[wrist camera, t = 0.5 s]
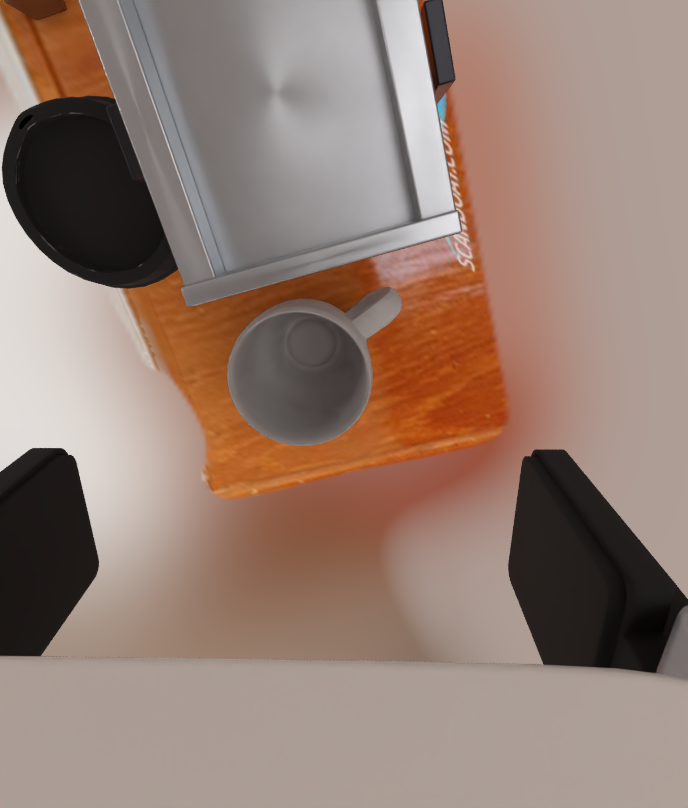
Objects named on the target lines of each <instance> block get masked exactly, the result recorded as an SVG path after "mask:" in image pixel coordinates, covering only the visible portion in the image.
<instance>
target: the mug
mask: <svg viewBox="0 0 688 808" xmlns="http://www.w3.org/2000/svg"><path fill="white" fill-rule="evenodd" d="M401 308H402V299H401V297H400V295H399V294H398V292H397V291H396V290H395V289H394V288H391V287H385V288H381V289H378V290H375V291H372V292H370V293H368V294H367V295H366V296H364V297H363V298H362V299H361V300H360V301H359V302H358V303H357V304H355V305H354V306H352V307H351V308H350V309H348V310H347V311H346V312H343V311H342V310H340V309H339V308H337V307H335V306H333V305H331V304H329V303H327V302H324V301H320V300H315V299H293V300H289V301H285V302H282V303H279V304H277V305H275V306H272V307H271V308H269V309H267V310H265V311H264V312H263V313H261V314H260V315H258V316H257V317H256V318H255V319H254V320H253V321H251V322H250V323H249V324H248V325H247V327H246V328H245V329H244V330H243V331H242V332H241V334H240V335H239V337H238V338H237V340H236V342H235V344H234V346H233V348H232V351H231V354H230V357H229V361H228V368H227V380H228V387H229V391H230V395H231V398H232V400H233V403H234V405H235V406H236V408H237V410H238V411H239V413H240V414H241V416H242V417H243V418H244V419H245V421H246V422H247V423H248V424H249V425H250V426H252V427H253V428H254V429H255V430H256V431H258V432H259V433H261V434H262V435H264V436H266V437H268V438H270V439H272V440H275V441H277V442H280V443H284V444H289V445H296V446H308V445H316V444H321V443H324V442H327V441H330V440H332V439H334V438H336V437H338V436H340V435H341V434H343V433H344V432H346V431H347V430H348V429H349V428H351V427H352V426H353V425H354V424H355V422H356V421H357V420H358V419H359V417H360V416H361V415H362V413H363V411H364V409H365V407H366V405H367V403H368V400H369V397H370V392H371V388H372V364H371V359H370V354H369V350H368V347H367V343H366V341H367V339H368V338H369V337H371V336H372V335H373V334H375V333H376V332H378V331H379V330H380V329H382V328H383V327H385V326H386V325H387V324H389V323H390V322H391V321H392V320H393V319H394V318H395V317H396V316H397V315H398V313H399V312H400V310H401Z"/></svg>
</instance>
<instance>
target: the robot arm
mask: <svg viewBox="0 0 688 808" xmlns="http://www.w3.org/2000/svg"><path fill="white" fill-rule="evenodd" d="M98 567H99V560H98V555H97V550H96V546H95V542H94V537H93V533H92V529H91V525H90V520H89V515H88V511H87V507H86V503H85V498H84V494H83V490H82V485H81V481H80V476H79V472H78V468H77V463H76V461H75V458H74V457H73V456H72V455H68V453H67V452H66V451H65V450H64V449H62V448H32V449H30V450H29V451H27V452H26V453H25V454H23V455H22V456H21V457H20V458H18V459H17V460H16V461H14V462H13V463H12V464H10V465H9V466H8V467H6V468H5V469H4V470H2V471H1V472H0V808H688V599H687V598H686V597H685V595H684V594H683V593H682V592H681V590H680V589H679V588H678V587H677V585H676V584H675V583H674V581H673V580H672V579H671V578H670V577H669V576H668V574H667V573H666V572H665V571H664V569H663V568H662V567H661V566H660V565H659V563H658V562H657V561H656V560H655V559H654V557H653V556H652V555H651V554H650V552H649V551H648V550H647V549H646V548H645V546H644V545H643V544H642V543H641V542H640V540H639V539H638V538H637V537H636V536H635V534H634V533H633V532H632V531H631V529H630V528H629V527H628V526H627V525H626V523H625V522H624V521H623V520H622V519H621V517H620V516H619V515H618V514H617V512H616V511H615V510H614V509H613V508H612V507H611V505H610V504H609V503H608V502H607V500H606V499H605V498H604V497H603V495H601V493H600V492H599V491H598V490H597V488H596V487H595V486H594V485H593V484H592V482H591V481H590V480H589V479H588V477H587V476H586V475H585V474H584V473H583V472H582V470H581V469H580V468H579V467H578V465H577V464H576V463H575V462H574V461H573V459H572V458H571V457H570V456H569V455H568V453H567V452H566V451H565V450H534V451H533V453H532V455H531V457H529V456H528V457H527V456H525V457H524V459H523V461H522V467H521V474H520V482H519V489H518V496H517V504H516V511H515V519H514V526H513V534H512V541H511V549H510V556H509V564H508V569H509V577H510V581H511V584H512V586H513V589H514V591H515V594H516V596H517V599H518V601H519V604H520V606H521V609H522V611H523V614H524V617H525V619H526V621H527V624H528V626H529V629H530V631H531V634H532V637H533V639H534V641H535V644H536V647H537V649H538V652H539V654H540V657H541V659H542V661H543V664H544V665H539V664H537V665H536V664H501V663H499V664H498V663H448V662H447V663H445V662H399V661H398V662H397V661H344V660H339V661H338V660H278V659H216V658H213V659H212V658H134V657H132V658H131V657H130V658H129V657H57V656H56V657H55V656H41V655H42V653H43V652H44V650H45V649H46V647H47V646H48V645H49V643H50V641H51V640H52V639H53V637H54V636H55V635H56V633H57V632H58V630H59V629H60V627H61V626H62V624H63V623H64V622H65V620H66V619H67V617H68V616H69V614H70V613H71V612H72V610H73V609H74V607H75V606H76V604H77V603H78V601H79V600H80V599H81V597H82V596H83V594H84V593H85V591H86V590H87V589H88V587H89V586H90V584H91V583H92V581H93V580H94V578H95V577H96V574H97V571H98Z"/></svg>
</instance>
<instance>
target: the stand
mask: <svg viewBox="0 0 688 808" xmlns="http://www.w3.org/2000/svg"><path fill="white" fill-rule="evenodd" d="M421 18H422V24H423V29H424V35H425V40H426V46H427V52H428V57H429V63H430V68H431V74H432V79H433V85H434V91H435V96H436V102H437V103H438V102H439V101H440V99H441V98H442V97H443V96H444V94H445V93H446V92H447V90H448V89H449V88H450V86H451V85H452V84H453V82H454V81H455V73H454V67H453V61H452V55H451V49H450V43H449V37H448V31H447V25H446V19H445V12H444V6H443V1H442V0H427V1H425V2H424V4H423V7H422V10H421ZM106 110H107V112H108V115H109V118H110V120H111V123H112V126H113V128H114V131H115V134H116V136H117V139H118V141H119V144H120V147H121V149H122V152H123V155H124V157H125V160H126V162H127V165H128V168H129V170H130V173H131V176H132V178H133V180H138V181H145V178H144V176H143V173H142V170H141V168H140V165H139V162H138V160H137V157H136V154H135V151H134V149H133V146H132V143H131V141H130V138H129V135H128V133H127V130H126V127H125V125H124V122H123V119H122V117H121V114H120V111H119V108H118V106H117V103H116V104H113V105H110V106H107V107H106Z"/></svg>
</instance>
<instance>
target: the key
mask: <svg viewBox="0 0 688 808" xmlns="http://www.w3.org/2000/svg"><path fill="white" fill-rule="evenodd" d="M4 2H6V3H7V4H9V5H11V6H13V7H14V8H16V9H18V10H19V11H21V12H23V13H25V14H26V15H28V16H30V17H31V18H33V19H35V20H38V19H41V18H44V17H47V16H49V15H52V14H55V13H58V12H61V11H63V10H66V6H65V3H64V1H63V0H4Z"/></svg>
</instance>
